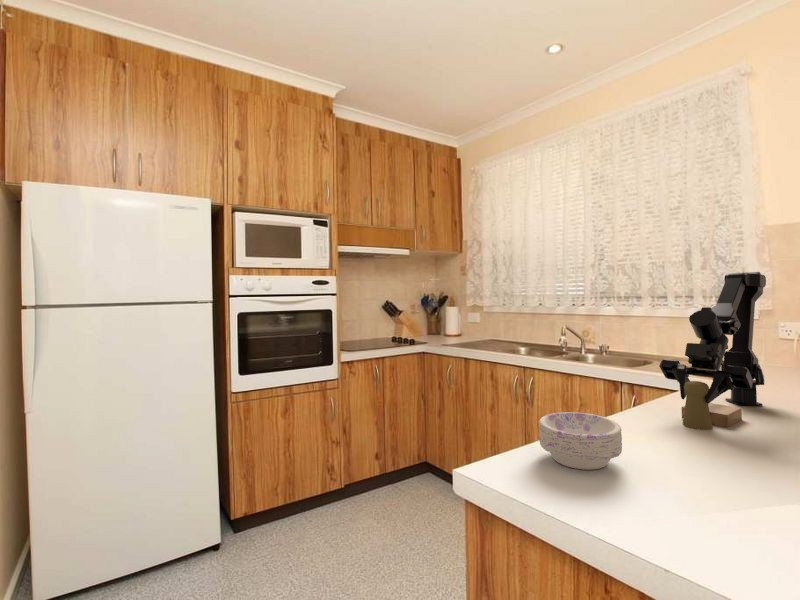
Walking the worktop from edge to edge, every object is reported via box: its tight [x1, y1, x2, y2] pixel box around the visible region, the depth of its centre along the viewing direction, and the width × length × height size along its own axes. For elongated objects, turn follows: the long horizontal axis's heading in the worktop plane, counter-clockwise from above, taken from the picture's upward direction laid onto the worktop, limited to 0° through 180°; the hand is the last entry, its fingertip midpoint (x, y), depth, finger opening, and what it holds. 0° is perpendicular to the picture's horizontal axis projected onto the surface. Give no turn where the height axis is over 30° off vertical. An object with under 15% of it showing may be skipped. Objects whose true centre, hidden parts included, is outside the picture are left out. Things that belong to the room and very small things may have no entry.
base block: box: [681, 402, 743, 428], centre depth 109 cm, size 10×10×3 cm
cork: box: [682, 380, 713, 431], centre depth 104 cm, size 6×6×11 cm
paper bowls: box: [538, 411, 623, 471], centre depth 84 cm, size 15×15×8 cm
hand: (694, 400), depth 103 cm, fingers closed on cork, 5 cm apart
